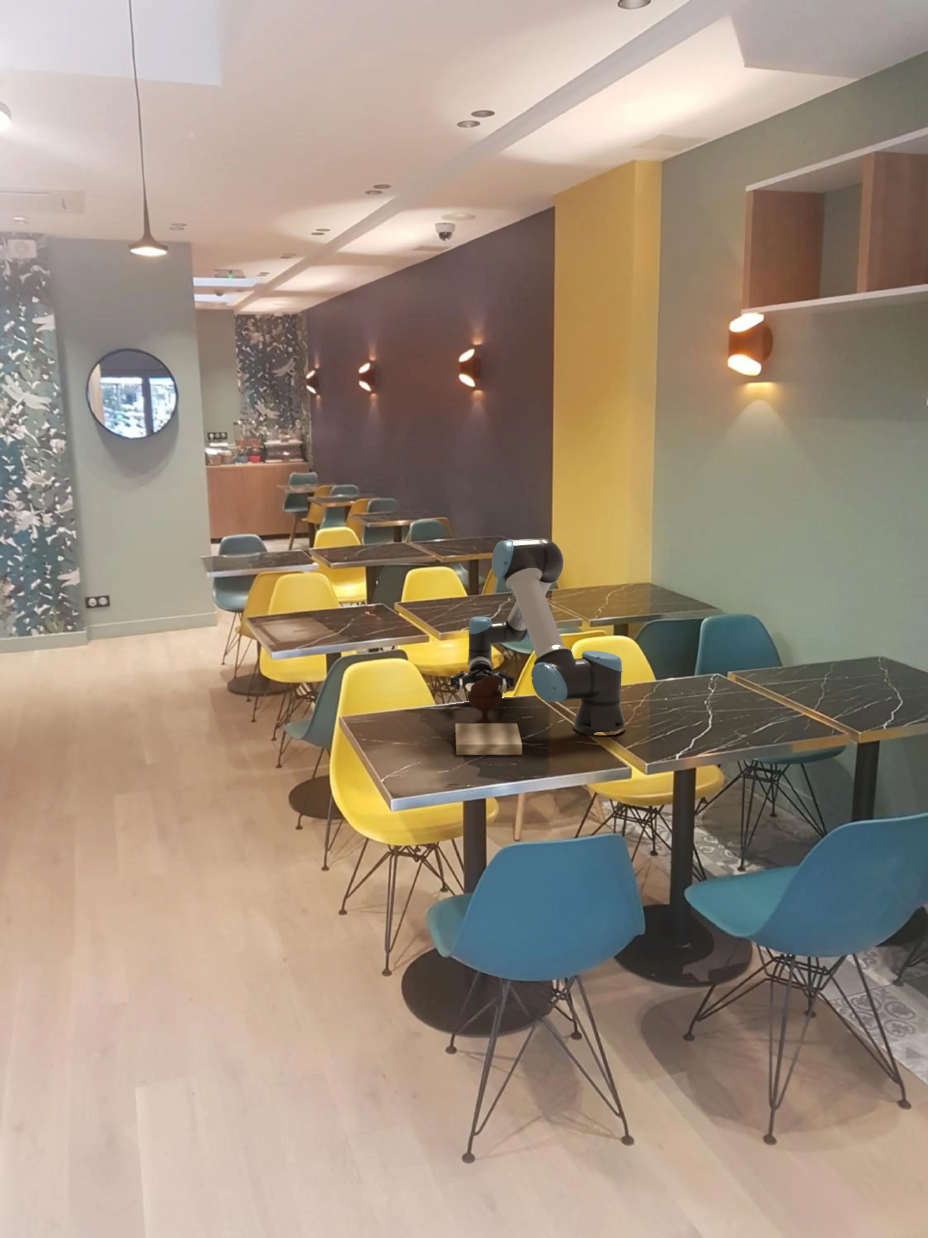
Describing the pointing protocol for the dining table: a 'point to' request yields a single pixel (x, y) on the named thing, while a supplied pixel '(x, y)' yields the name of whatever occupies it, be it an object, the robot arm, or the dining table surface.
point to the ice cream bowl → (485, 697)
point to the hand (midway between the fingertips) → (483, 689)
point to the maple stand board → (488, 739)
